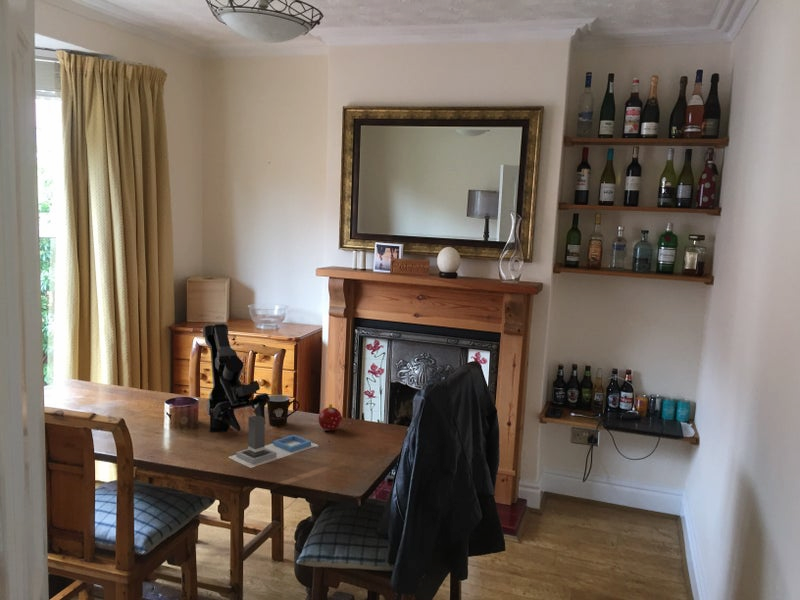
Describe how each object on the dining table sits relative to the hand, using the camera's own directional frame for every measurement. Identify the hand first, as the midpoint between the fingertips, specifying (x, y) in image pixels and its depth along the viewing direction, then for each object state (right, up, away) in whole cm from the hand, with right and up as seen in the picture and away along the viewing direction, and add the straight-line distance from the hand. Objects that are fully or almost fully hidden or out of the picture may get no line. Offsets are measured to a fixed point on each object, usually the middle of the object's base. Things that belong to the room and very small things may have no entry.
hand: (252, 427), depth 201 cm
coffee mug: (+3, -6, +35) cm, 36 cm away
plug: (+1, -9, 0) cm, 9 cm away
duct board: (+6, -10, +5) cm, 13 cm away
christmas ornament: (+22, -7, +31) cm, 38 cm away
